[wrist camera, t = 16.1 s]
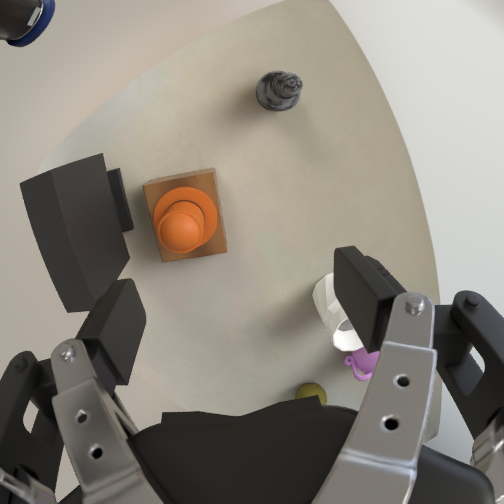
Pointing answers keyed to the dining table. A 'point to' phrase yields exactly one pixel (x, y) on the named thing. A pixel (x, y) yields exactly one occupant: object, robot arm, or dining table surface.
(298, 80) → the chess piece
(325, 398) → the apple
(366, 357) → the teapot
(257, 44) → the dining table surface
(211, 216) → the hat
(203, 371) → the dining table surface
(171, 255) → the stand
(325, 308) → the vase
